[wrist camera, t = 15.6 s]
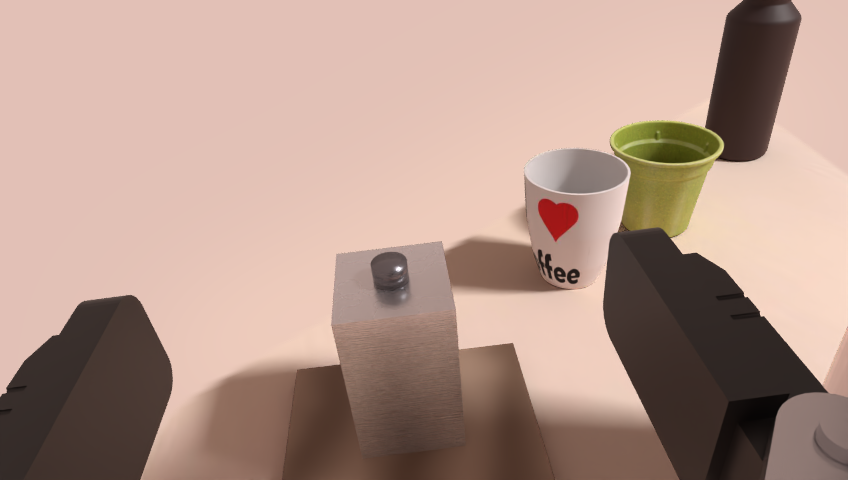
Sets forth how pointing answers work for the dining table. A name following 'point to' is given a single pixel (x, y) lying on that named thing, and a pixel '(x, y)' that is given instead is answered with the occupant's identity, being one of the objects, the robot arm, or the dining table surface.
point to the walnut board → (433, 469)
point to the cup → (574, 212)
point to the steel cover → (399, 348)
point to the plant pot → (664, 171)
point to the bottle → (751, 75)
